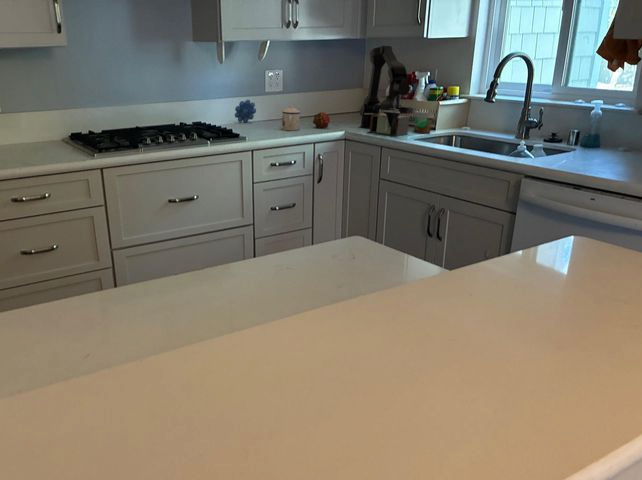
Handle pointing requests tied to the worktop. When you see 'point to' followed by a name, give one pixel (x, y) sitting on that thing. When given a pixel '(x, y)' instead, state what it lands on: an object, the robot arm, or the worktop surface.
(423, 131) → the food container
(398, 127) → the cabinet
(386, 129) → the sliding door
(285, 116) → the teacup with lid
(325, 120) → the dragon fruit
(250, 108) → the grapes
